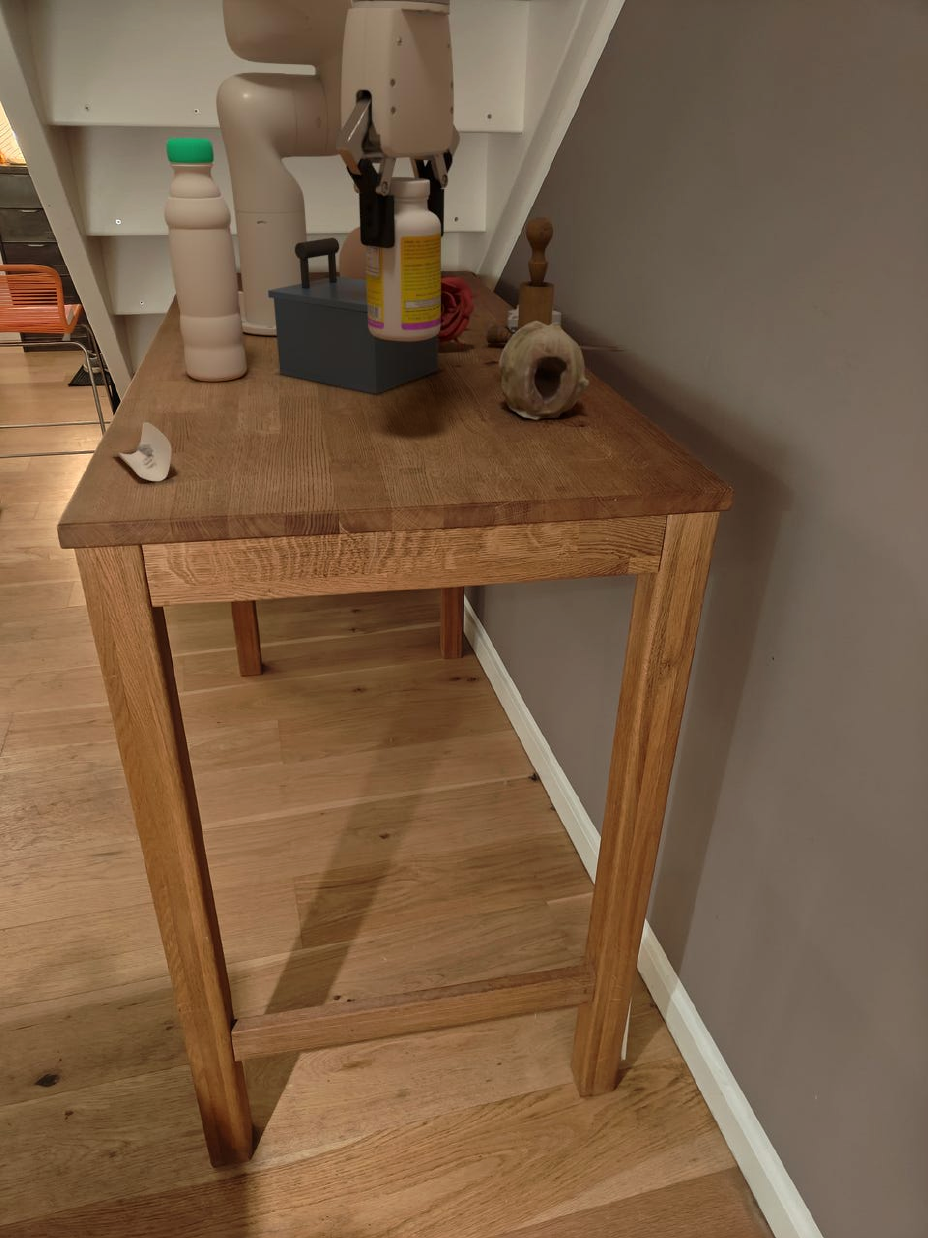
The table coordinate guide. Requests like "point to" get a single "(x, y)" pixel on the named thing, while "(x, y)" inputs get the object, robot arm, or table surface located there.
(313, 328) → the chest
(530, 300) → the mortar and pestle
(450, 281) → the flower
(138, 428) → the table surface
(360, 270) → the egg
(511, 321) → the zipper pull
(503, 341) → the machete
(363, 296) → the lid
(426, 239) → the supplement bottle
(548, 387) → the cream hollow lumpy ball
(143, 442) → the white curved plate
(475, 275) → the table surface
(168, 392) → the table surface
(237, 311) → the water bottle
